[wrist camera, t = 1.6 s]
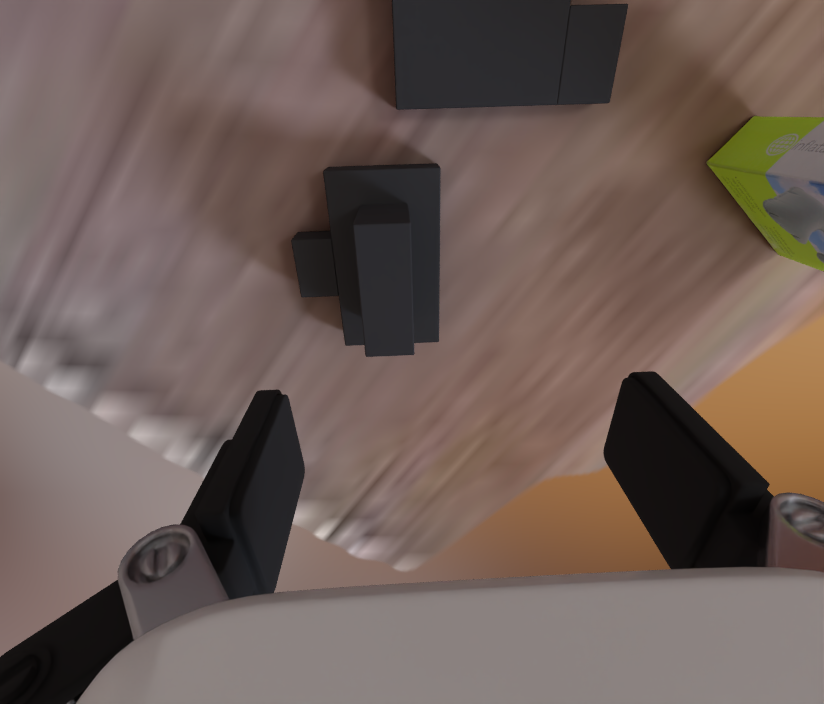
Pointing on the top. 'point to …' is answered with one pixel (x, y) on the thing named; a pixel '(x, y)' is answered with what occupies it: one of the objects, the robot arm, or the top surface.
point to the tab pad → (339, 245)
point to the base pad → (504, 52)
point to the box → (779, 182)
